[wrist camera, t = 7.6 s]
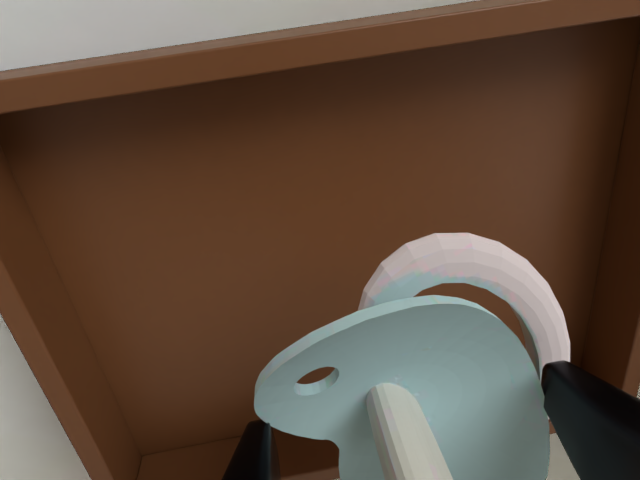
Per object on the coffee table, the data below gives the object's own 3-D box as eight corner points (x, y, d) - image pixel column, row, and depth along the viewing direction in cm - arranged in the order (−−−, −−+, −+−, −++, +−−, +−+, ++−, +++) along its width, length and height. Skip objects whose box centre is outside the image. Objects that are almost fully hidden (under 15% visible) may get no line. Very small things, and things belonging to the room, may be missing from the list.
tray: (652, -26, 12) (748, -32, 10) (583, 364, 18) (632, 417, 16) (-43, 77, 11) (-121, 98, 9) (133, 455, 17) (115, 526, 15)
